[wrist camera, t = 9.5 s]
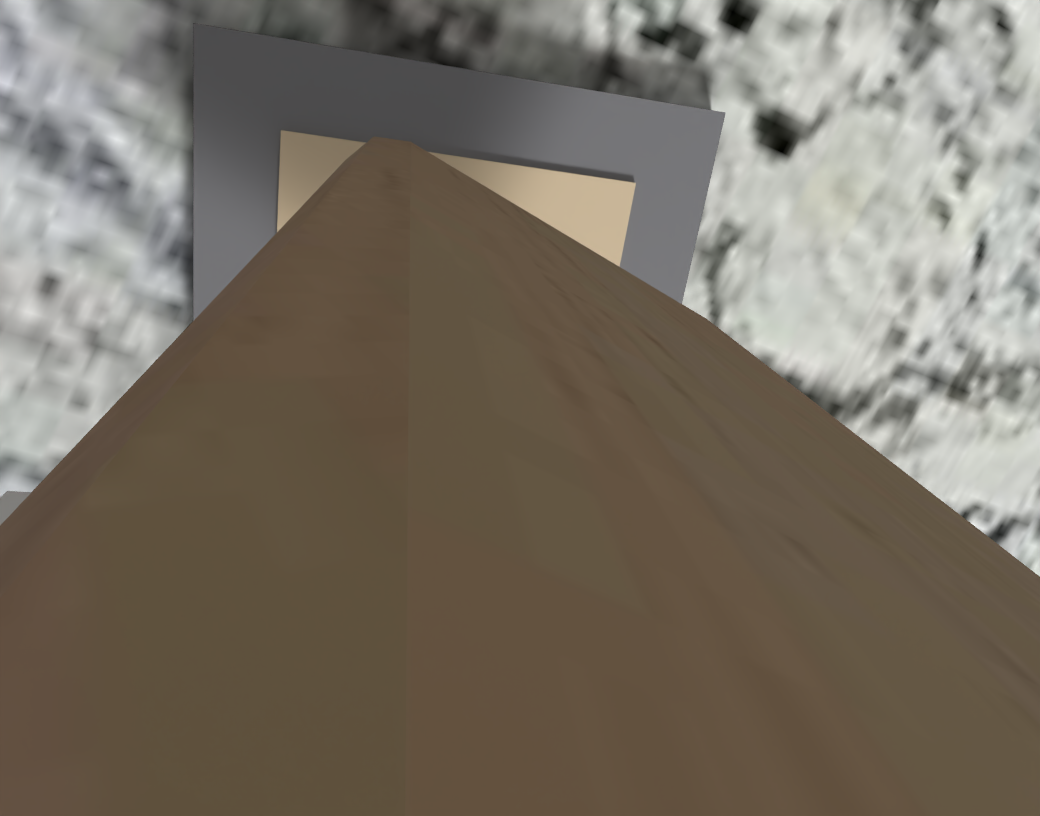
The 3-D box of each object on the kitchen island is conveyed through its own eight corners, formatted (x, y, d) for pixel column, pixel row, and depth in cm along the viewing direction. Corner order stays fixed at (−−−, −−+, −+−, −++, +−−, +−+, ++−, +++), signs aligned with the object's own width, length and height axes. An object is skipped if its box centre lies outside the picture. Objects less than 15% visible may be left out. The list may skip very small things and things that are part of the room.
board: (201, 503, 29) (191, 522, 27) (204, 26, 23) (191, 22, 22) (618, 530, 31) (627, 549, 30) (712, 111, 26) (727, 113, 25)
